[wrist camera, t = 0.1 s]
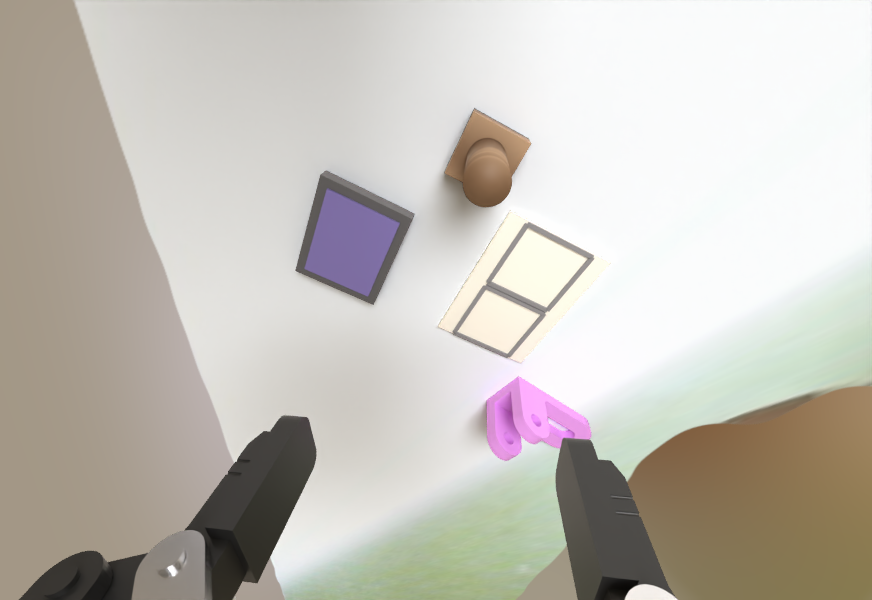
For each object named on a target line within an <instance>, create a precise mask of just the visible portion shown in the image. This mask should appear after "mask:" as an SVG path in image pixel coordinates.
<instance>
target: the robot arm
mask: <svg viewBox="0 0 872 600" xmlns="http://www.w3.org/2000/svg"><path fill="white" fill-rule="evenodd" d="M315 461H316V447H315V443H314V439H313V435H312V431H311V427H310V422H309V420H308V418H307V417H298V416H282V417H281V418H279V420H278V421H277V423H276V424H275V425H274V427H273V428H272V430H271V431H270V432H267V431H264V432H262V433H261V434H260V435H259V436H257V437H256V438H255V439H254V440H253V441H251V442H250V443H249V444H248V445H247V446H246V448H245V449H244V451H243V452H242V453H241V455H240V456H239V457H238V459H237V462H235V463H234V464H233V466H232V467H231V468H230V470H229V471H228V475H225V477H224V478H223V479H222V481H221V482H220V483H219V485H218V486H217V488H216V489H215V490H214V492H213V493H212V495H211V496H210V497H209V499H208V500H207V501H206V503H205V504H204V505H203V507H202V508H201V510H200V511H199V512H198V514H197V515H196V516H195V518H194V519H193V521H192V522H191V523H190V524H189V526H188V527H187V528H186V529H185V530H184V531H180V532H178V533H175V534H172V535H171V536H169V537H167V538H165V539H164V540H162V541H161V542H160V543H158V544H157V545H156V546H155V547H154V548H153V549H152V550H151V551H150V552H149V553H146V554H142V555H138V556H133V557H129V558H125V559H120V560H116V561H111V562H107V561H106V560H105V559H104V558H103V557H102V555H101V554H100V553H98V552H96V551H85V552H80V553H78V554H75V555H72V556H70V557H68V558H66V559H64V560H62V561H61V562H59V563H58V564H56V565H54V566H53V567H52V568H50V569H49V570H48V571H47V572H46V573H44V574H43V575H42V576H41V577H40V578H39V579H38V580H37V581H36V582H35V583H34V584H33V585H32V586H31V587H30V588H29V590H28V591H27V592H26V593H25V594H24V595H23V596H22V597H21V598H20V599H19V600H236V598H235V594H236V592H237V591H238V589H239V587H240V585H241V583H242V581H244V582H252V583H258V581H259V579H260V577H261V574H262V572H263V570H264V568H265V566H266V564H267V562H268V560H269V558H270V556H271V554H272V552H273V550H274V548H275V546H276V544H277V542H278V540H279V538H280V536H281V534H282V532H283V530H284V528H285V526H286V523H287V521H288V519H289V517H290V515H291V513H292V511H293V509H294V507H295V505H296V503H297V501H298V499H299V497H300V495H301V493H302V491H303V489H304V487H305V485H306V483H307V481H308V479H309V477H310V474H311V472H312V470H313V468H314V465H315ZM556 491H557V497H558V502H559V507H560V512H561V517H562V522H563V527H564V532H565V537H566V542H567V547H568V552H569V557H570V562H571V567H572V572H573V577H574V582H575V587H576V593H577V597H578V600H678V599H677V598H676V597H675V596H674V594H673V593H672V591H671V589H670V588H669V586H668V584H667V581H666V579H665V577H664V574H663V572H662V569H661V567H660V564H659V562H658V559H657V557H656V554H655V552H654V549H653V547H652V544H651V542H650V539H649V537H648V534H647V532H646V529H645V527H644V524H643V522H642V519H641V517H639V512H638V509H637V507H636V504H635V502H634V501H633V499H632V494H631V492H630V489H629V487H628V484H627V481H626V479H625V477H624V476H623V475H622V473H621V472H620V471H619V470H618V469H617V467H616V466H615V465H614V464H613V463H612V462H611V461H608V460H598V458H597V455H596V452H595V449H594V446H593V444H592V442H591V440H589V439H576V438H563V439H562V443H561V448H560V453H559V458H558V464H557V469H556Z"/></svg>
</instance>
